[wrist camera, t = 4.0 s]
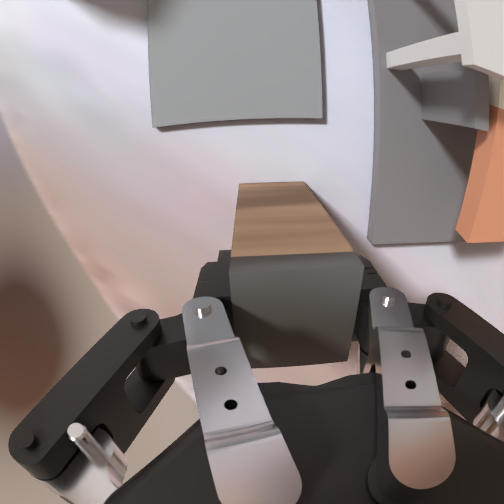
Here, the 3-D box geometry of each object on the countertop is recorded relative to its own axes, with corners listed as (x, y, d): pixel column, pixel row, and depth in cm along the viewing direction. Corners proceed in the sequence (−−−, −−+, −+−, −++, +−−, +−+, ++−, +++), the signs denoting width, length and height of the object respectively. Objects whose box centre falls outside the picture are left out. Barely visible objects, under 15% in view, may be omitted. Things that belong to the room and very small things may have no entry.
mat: (150, -15, 13) (148, -17, 12) (312, -25, 13) (313, -28, 12) (155, 127, 17) (152, 127, 17) (320, 118, 17) (322, 118, 17)
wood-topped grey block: (239, 183, 19) (228, 272, 9) (304, 181, 19) (364, 265, 9) (242, 243, 20) (238, 368, 11) (303, 240, 20) (347, 360, 11)
